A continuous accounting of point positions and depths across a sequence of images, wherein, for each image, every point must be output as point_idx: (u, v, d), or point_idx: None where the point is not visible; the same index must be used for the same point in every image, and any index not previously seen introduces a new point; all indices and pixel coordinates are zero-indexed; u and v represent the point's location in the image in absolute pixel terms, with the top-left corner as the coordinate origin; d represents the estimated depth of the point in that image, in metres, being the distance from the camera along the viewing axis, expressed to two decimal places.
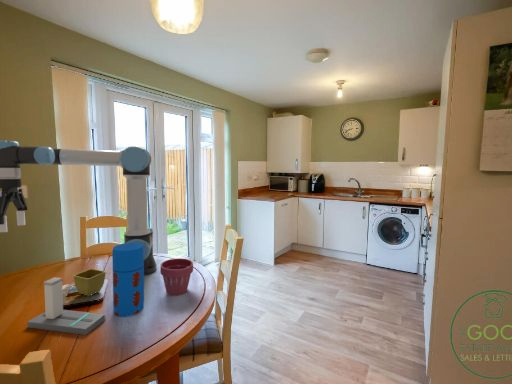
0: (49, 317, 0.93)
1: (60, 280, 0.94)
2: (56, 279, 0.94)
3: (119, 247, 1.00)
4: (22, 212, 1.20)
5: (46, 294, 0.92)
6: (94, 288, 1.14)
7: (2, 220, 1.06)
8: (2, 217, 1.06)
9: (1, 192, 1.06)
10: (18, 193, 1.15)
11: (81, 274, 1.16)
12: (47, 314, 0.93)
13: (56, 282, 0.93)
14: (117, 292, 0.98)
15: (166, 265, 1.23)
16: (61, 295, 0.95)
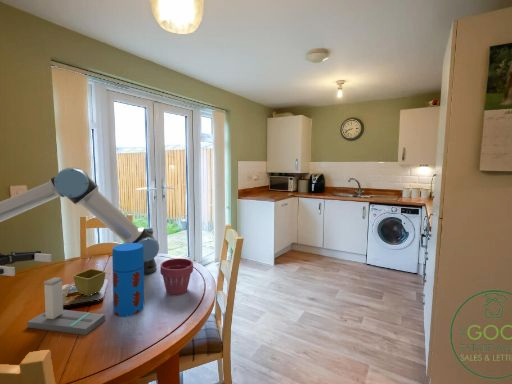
0: (49, 317, 0.93)
1: (60, 280, 0.94)
2: (56, 279, 0.94)
3: (119, 247, 1.00)
4: (36, 255, 1.01)
5: (46, 294, 0.92)
6: (94, 288, 1.14)
7: None
8: None
9: None
10: (3, 254, 0.98)
11: (81, 274, 1.16)
12: (47, 314, 0.93)
13: (56, 282, 0.93)
14: (117, 292, 0.98)
15: (166, 265, 1.23)
16: (61, 295, 0.95)
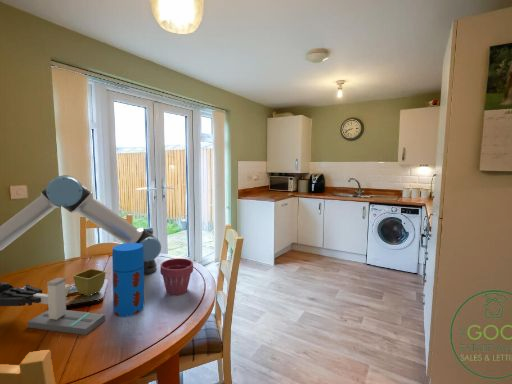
0: (52, 317, 0.92)
1: (63, 280, 0.94)
2: (59, 279, 0.94)
3: (119, 247, 1.00)
4: None
5: (49, 294, 0.92)
6: (94, 288, 1.14)
7: (35, 298, 0.93)
8: (32, 297, 0.93)
9: None
10: (15, 287, 0.98)
11: (81, 274, 1.16)
12: (50, 314, 0.92)
13: (59, 282, 0.93)
14: (117, 292, 0.98)
15: (166, 265, 1.23)
16: (64, 295, 0.95)
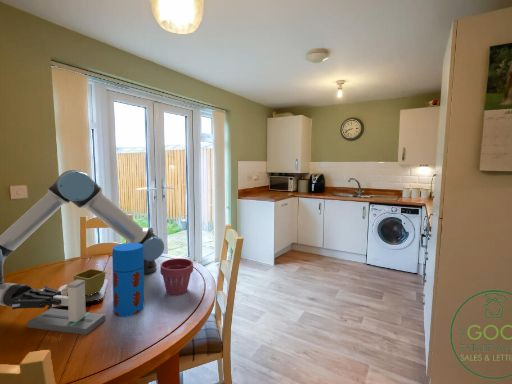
0: (72, 320, 0.91)
1: (83, 282, 0.93)
2: (79, 281, 0.93)
3: (119, 247, 1.00)
4: None
5: (69, 297, 0.91)
6: (94, 288, 1.14)
7: (55, 300, 0.92)
8: (52, 299, 0.92)
9: (13, 304, 0.89)
10: (34, 289, 0.97)
11: (81, 274, 1.16)
12: (70, 317, 0.91)
13: (79, 284, 0.92)
14: (117, 292, 0.98)
15: (166, 265, 1.23)
16: (84, 297, 0.94)
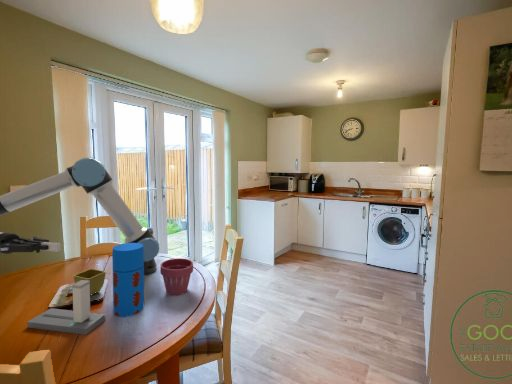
0: (77, 320, 0.91)
1: (88, 283, 0.93)
2: (84, 282, 0.92)
3: (119, 247, 1.00)
4: None
5: (74, 297, 0.90)
6: (94, 288, 1.14)
7: (43, 245, 0.95)
8: (40, 245, 0.95)
9: (2, 248, 0.92)
10: None
11: (81, 274, 1.16)
12: (75, 317, 0.91)
13: (84, 285, 0.91)
14: (117, 292, 0.98)
15: (166, 265, 1.23)
16: (88, 298, 0.94)
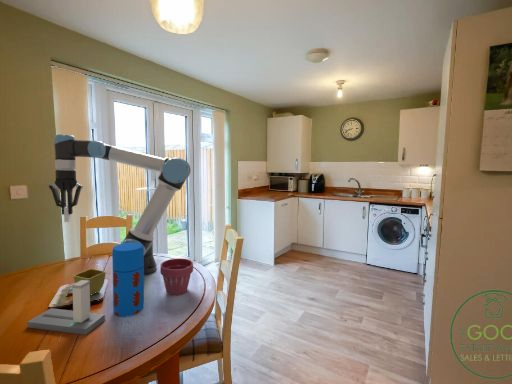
0: (77, 320, 0.91)
1: (88, 283, 0.93)
2: (84, 282, 0.92)
3: (119, 247, 1.00)
4: None
5: (74, 297, 0.90)
6: (94, 288, 1.14)
7: (62, 211, 1.21)
8: (63, 208, 1.21)
9: None
10: (69, 185, 1.20)
11: (81, 274, 1.16)
12: (75, 317, 0.91)
13: (84, 285, 0.91)
14: (117, 292, 0.98)
15: (166, 265, 1.23)
16: (88, 298, 0.94)
